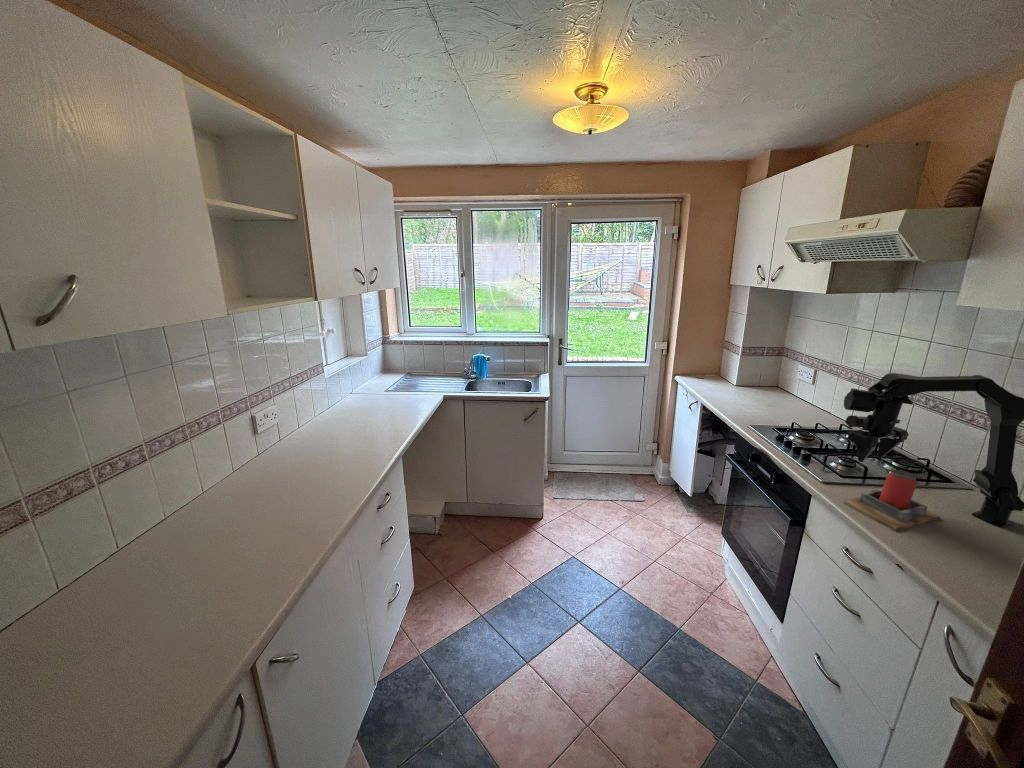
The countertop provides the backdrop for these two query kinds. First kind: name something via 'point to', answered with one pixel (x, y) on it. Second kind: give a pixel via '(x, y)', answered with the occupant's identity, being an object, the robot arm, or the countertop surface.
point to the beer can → (898, 489)
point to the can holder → (890, 511)
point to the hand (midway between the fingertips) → (869, 459)
